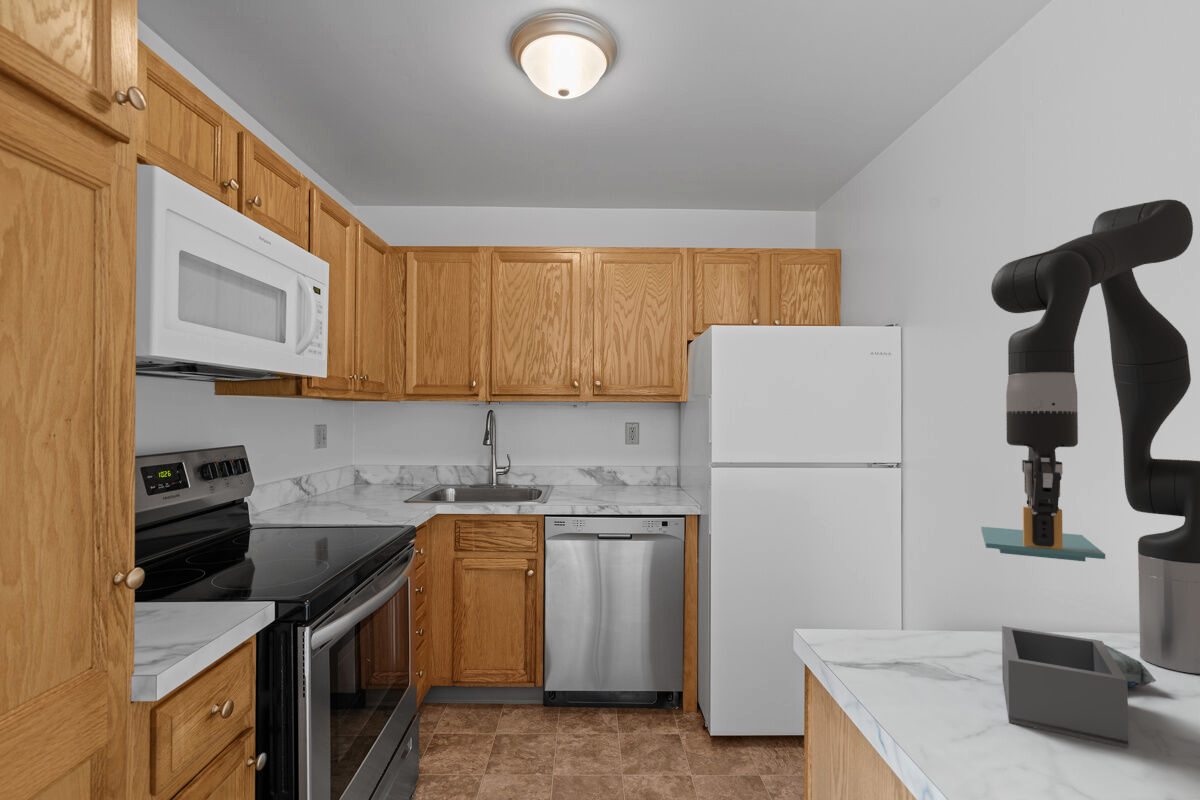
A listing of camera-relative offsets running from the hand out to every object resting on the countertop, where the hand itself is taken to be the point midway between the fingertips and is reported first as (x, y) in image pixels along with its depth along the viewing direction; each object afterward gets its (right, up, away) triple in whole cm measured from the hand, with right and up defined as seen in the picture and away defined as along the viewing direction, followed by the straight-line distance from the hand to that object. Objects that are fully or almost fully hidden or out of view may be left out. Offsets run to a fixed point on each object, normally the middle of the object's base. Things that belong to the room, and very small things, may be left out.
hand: (1042, 544), depth 80 cm
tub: (+5, -24, +5) cm, 25 cm away
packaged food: (+19, -25, +16) cm, 35 cm away
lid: (+4, -1, +6) cm, 7 cm away
